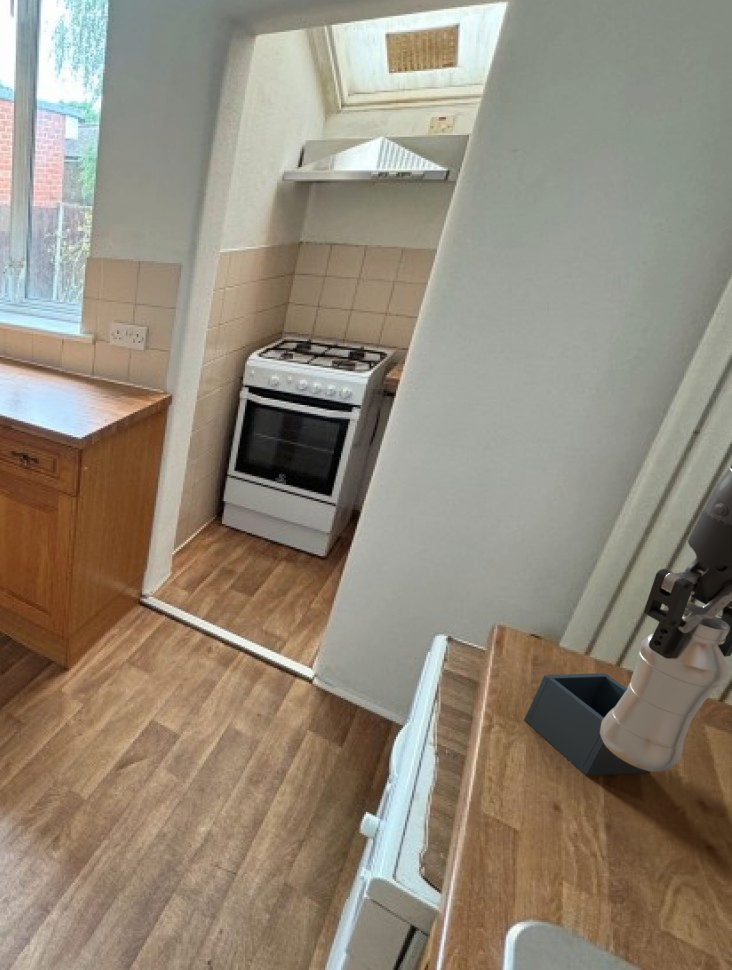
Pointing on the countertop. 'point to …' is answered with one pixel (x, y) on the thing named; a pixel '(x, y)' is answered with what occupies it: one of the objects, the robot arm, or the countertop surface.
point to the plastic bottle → (665, 698)
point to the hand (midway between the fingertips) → (688, 652)
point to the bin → (579, 720)
